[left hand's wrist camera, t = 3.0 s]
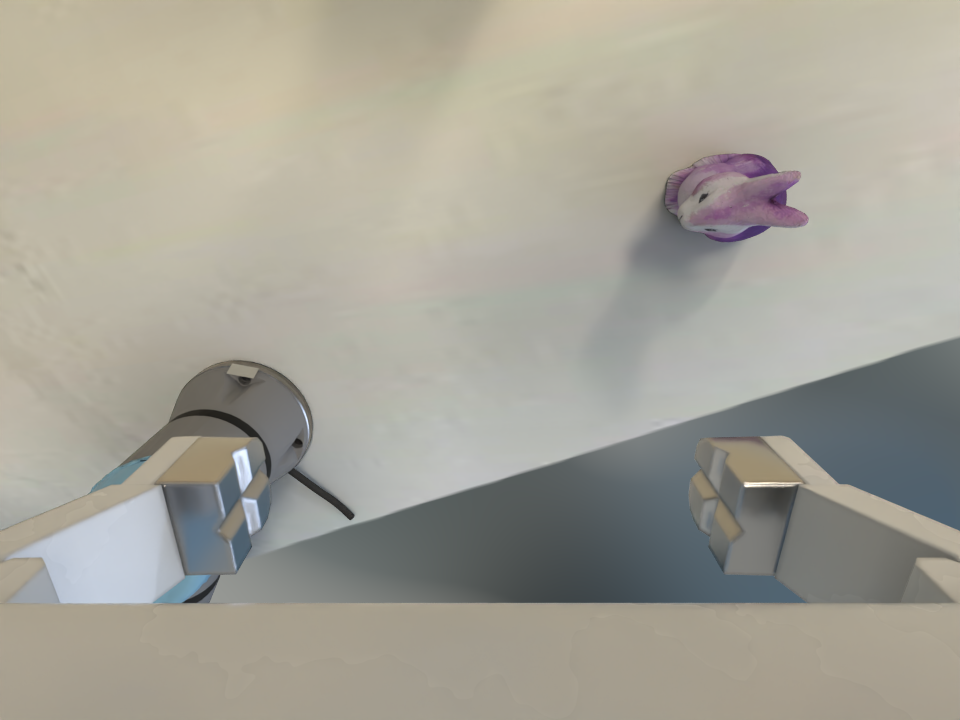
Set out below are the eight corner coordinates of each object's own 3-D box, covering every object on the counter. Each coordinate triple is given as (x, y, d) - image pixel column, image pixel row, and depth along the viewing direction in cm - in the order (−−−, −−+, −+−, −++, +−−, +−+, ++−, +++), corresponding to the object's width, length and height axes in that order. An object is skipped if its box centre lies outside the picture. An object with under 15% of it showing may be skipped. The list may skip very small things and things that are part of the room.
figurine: (638, 199, 54) (693, 217, 40) (724, 123, 52) (813, 115, 38) (692, 266, 57) (761, 305, 43) (776, 197, 54) (879, 215, 40)
